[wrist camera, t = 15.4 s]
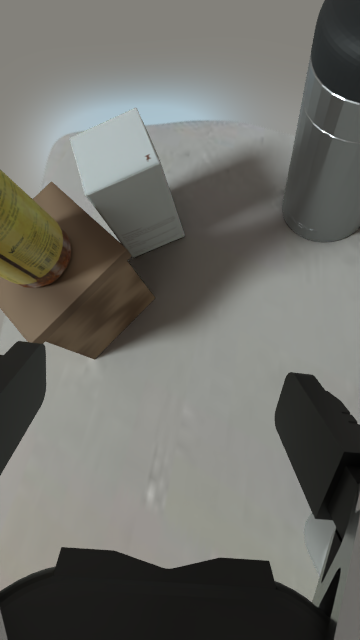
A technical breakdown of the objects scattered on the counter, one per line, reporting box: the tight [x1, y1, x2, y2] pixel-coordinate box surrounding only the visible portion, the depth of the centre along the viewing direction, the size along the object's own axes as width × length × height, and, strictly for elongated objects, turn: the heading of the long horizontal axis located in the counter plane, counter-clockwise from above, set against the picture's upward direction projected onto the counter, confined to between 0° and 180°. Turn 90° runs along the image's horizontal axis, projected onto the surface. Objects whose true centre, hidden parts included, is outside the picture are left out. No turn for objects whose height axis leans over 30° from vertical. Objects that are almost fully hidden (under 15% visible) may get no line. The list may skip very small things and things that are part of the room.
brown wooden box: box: [0, 181, 155, 359], centre depth 34 cm, size 11×11×12 cm
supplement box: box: [69, 108, 185, 258], centre depth 36 cm, size 7×7×13 cm
